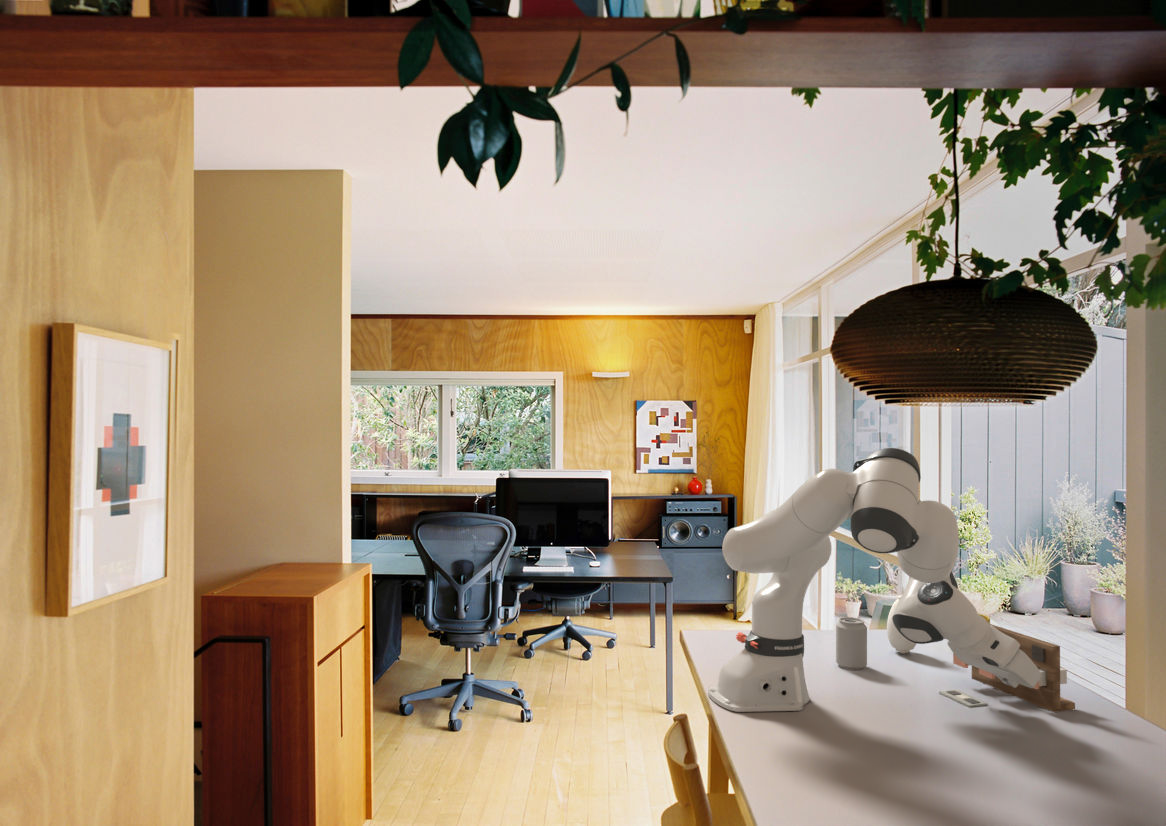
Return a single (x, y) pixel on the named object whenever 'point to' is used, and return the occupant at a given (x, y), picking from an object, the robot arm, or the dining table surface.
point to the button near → (1044, 677)
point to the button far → (959, 662)
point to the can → (851, 643)
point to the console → (1042, 657)
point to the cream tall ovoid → (897, 633)
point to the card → (963, 698)
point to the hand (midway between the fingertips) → (1012, 683)
